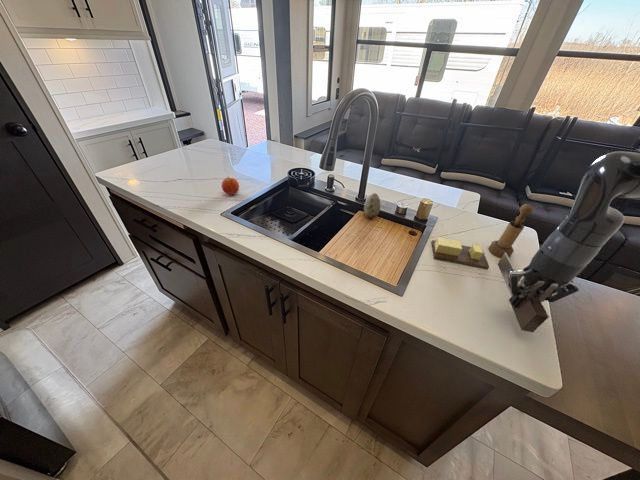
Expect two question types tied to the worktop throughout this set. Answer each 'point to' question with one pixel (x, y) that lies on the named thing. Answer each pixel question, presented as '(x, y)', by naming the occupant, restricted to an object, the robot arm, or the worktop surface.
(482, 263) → the butter board
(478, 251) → the butter pat
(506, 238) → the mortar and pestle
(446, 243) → the butter stick
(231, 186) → the fruit
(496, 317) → the worktop surface
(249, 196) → the worktop surface
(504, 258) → the knife
